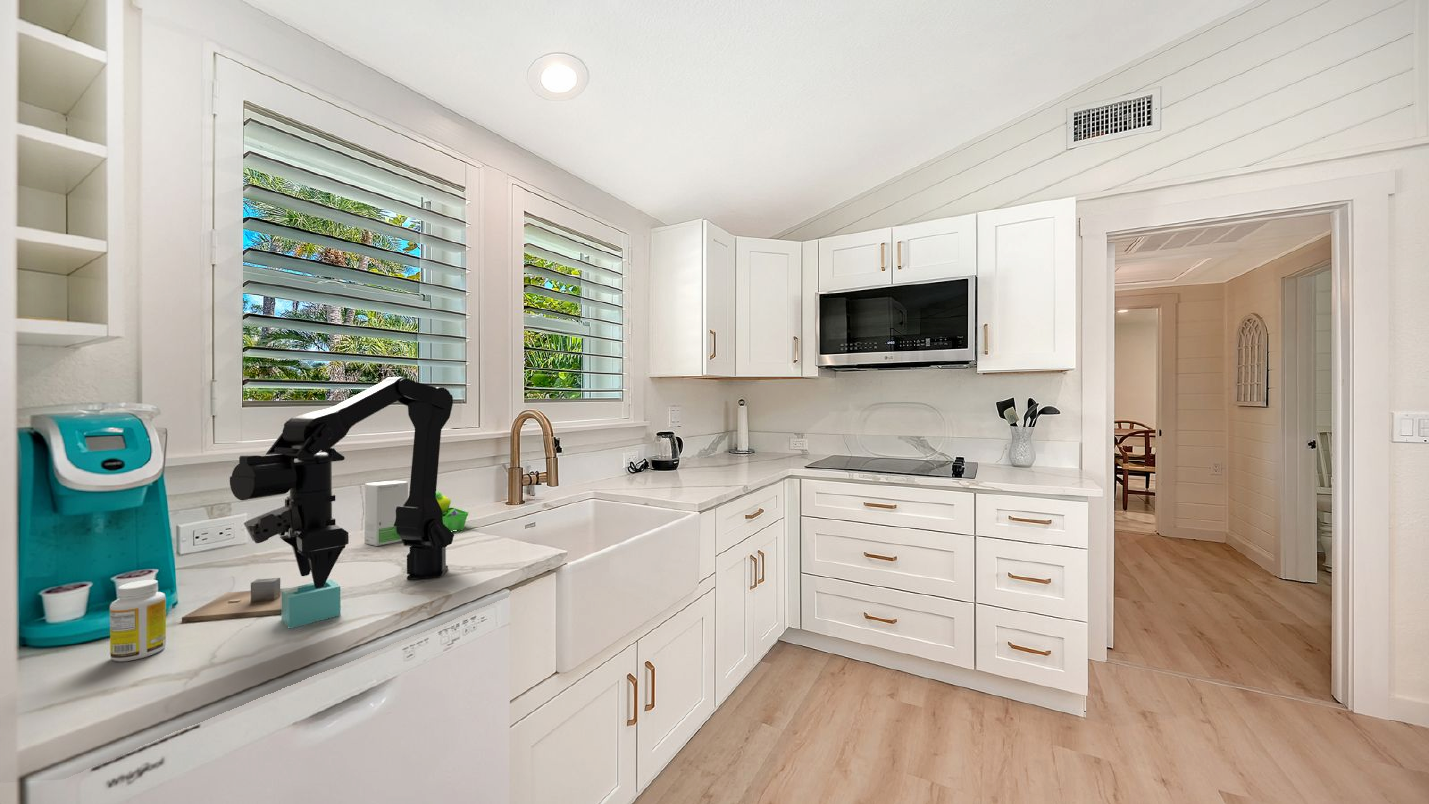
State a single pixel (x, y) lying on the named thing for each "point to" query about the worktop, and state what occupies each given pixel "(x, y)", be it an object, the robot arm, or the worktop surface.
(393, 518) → the skincare box
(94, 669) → the worktop surface
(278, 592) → the grey rectangular block
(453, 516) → the fruit basket
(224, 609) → the base plate
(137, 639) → the supplement bottle
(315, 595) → the teal hollow block
